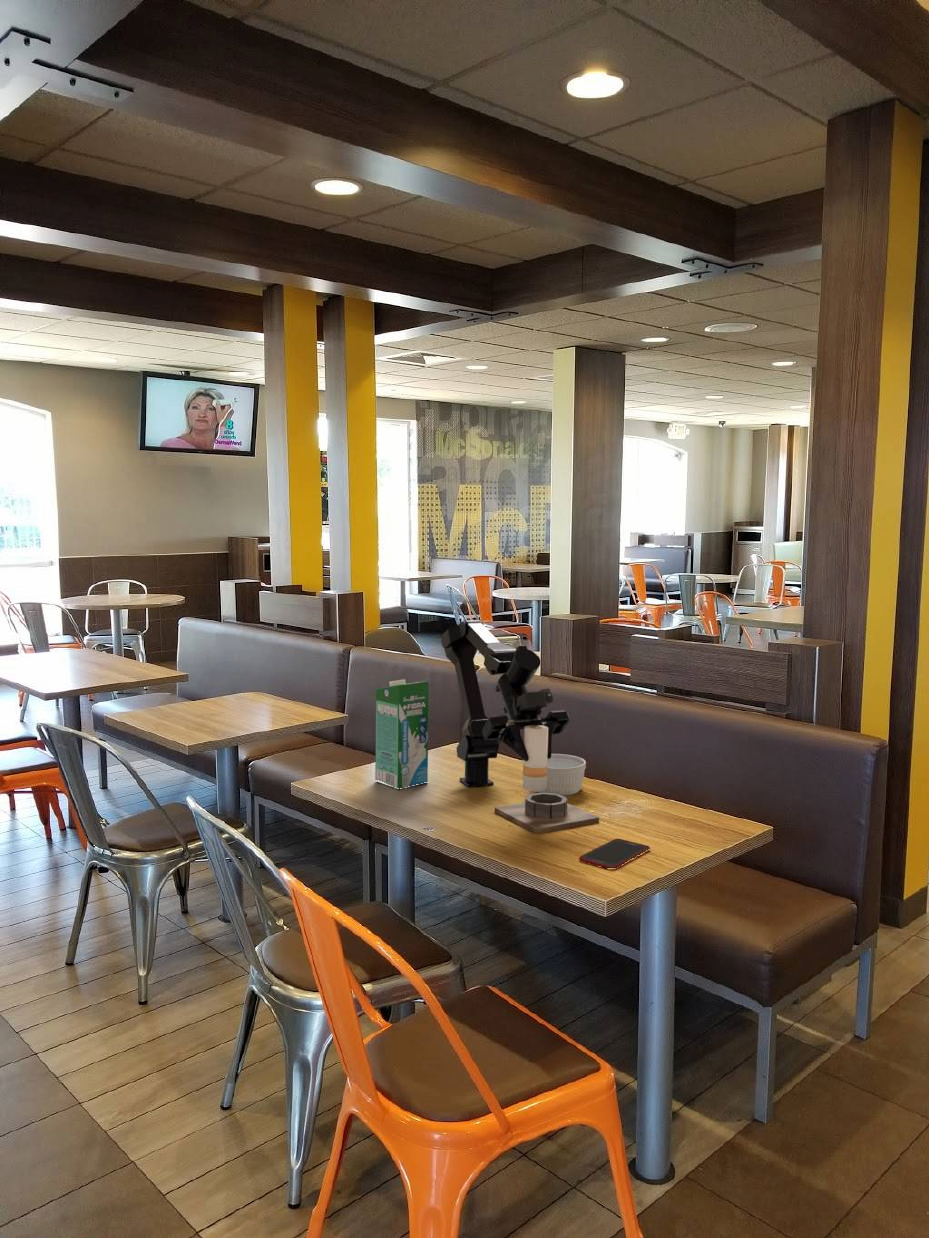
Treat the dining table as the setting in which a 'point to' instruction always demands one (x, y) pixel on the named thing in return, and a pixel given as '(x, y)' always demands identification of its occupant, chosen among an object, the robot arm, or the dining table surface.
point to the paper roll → (535, 758)
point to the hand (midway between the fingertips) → (538, 759)
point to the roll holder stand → (546, 813)
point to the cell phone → (614, 853)
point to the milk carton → (402, 733)
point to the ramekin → (564, 774)
